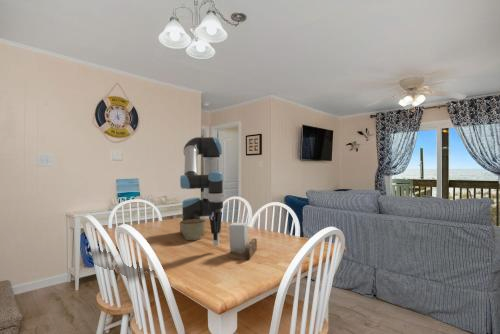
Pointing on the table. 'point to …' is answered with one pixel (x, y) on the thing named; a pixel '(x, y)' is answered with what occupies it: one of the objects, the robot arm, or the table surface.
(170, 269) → the table surface
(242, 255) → the bay
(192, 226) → the planter bowl
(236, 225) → the skincare box
